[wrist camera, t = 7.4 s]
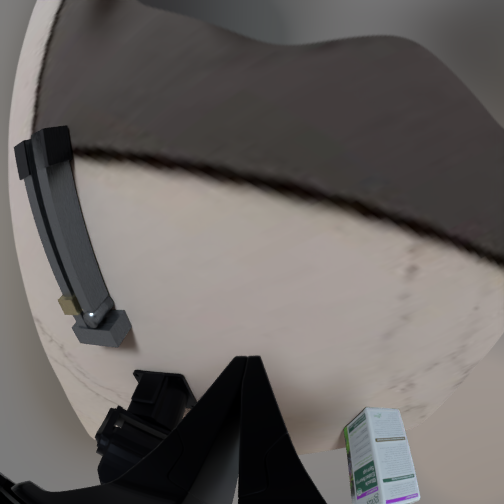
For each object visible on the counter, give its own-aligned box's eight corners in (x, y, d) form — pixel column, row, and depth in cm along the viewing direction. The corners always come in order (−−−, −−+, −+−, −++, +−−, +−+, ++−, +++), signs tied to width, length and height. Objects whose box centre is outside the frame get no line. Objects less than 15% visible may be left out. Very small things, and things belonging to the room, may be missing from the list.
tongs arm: (117, 308, 24) (101, 328, 21) (103, 307, 24) (87, 327, 21) (67, 125, 17) (41, 128, 14) (53, 132, 17) (28, 136, 14)
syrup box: (365, 406, 28) (380, 510, 14) (400, 407, 28) (421, 501, 15) (342, 427, 30) (350, 521, 17) (377, 428, 30) (390, 514, 17)
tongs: (131, 326, 25) (116, 350, 22) (94, 324, 26) (78, 345, 22) (70, 124, 17) (40, 127, 14) (34, 143, 18) (7, 150, 14)
